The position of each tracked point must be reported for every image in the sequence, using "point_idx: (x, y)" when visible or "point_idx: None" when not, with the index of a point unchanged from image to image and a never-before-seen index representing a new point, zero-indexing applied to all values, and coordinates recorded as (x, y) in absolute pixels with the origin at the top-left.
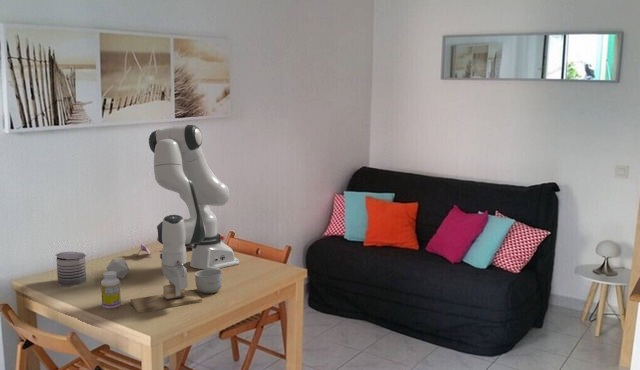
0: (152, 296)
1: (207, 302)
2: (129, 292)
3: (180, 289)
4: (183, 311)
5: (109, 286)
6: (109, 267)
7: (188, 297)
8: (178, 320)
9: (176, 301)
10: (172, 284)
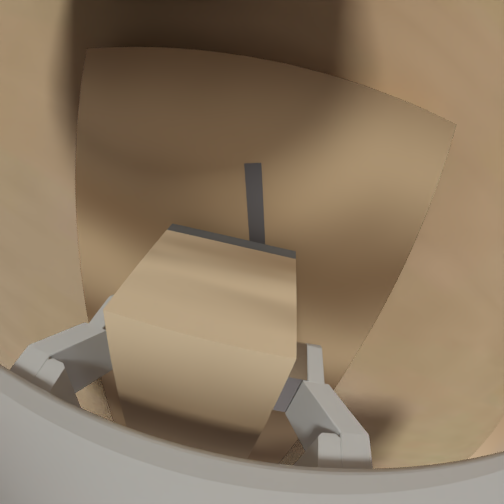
0: (109, 376)
1: (485, 98)
2: (5, 350)
3: (342, 410)
4: (458, 346)
5: None
6: None
7: (313, 207)
8: (493, 396)
9: (321, 344)
10: (131, 405)
